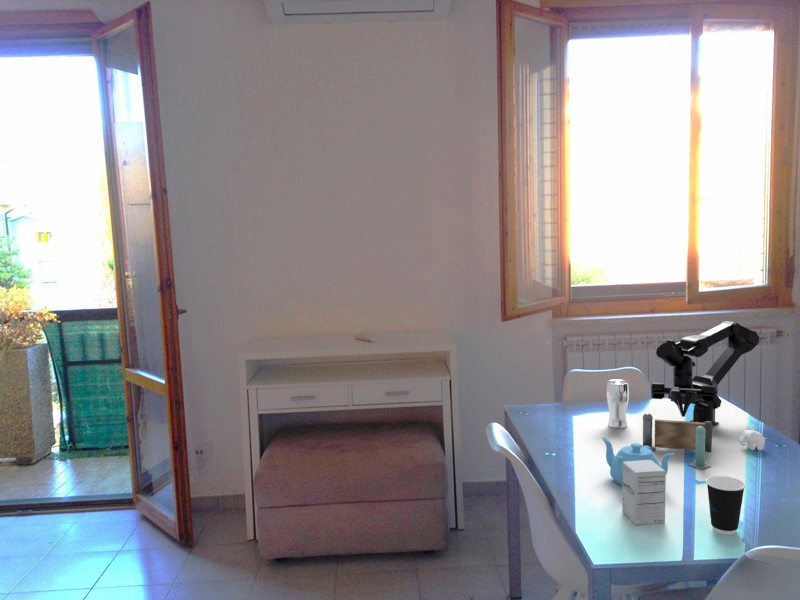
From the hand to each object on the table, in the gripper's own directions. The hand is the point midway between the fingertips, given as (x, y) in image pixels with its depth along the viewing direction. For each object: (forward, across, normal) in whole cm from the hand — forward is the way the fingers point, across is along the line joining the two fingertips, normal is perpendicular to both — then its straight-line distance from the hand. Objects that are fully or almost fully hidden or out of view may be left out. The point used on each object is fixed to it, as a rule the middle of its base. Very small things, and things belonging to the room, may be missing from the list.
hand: (683, 416), depth 210 cm
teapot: (+33, +13, +22) cm, 42 cm away
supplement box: (+48, +10, +37) cm, 61 cm away
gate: (+12, 0, +3) cm, 13 cm away
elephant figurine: (+7, -19, -4) cm, 21 cm away
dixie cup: (+49, -7, +38) cm, 62 cm away
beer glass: (-2, +20, -13) cm, 24 cm away
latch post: (+21, -4, +10) cm, 23 cm away
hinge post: (+13, +10, +2) cm, 17 cm away
